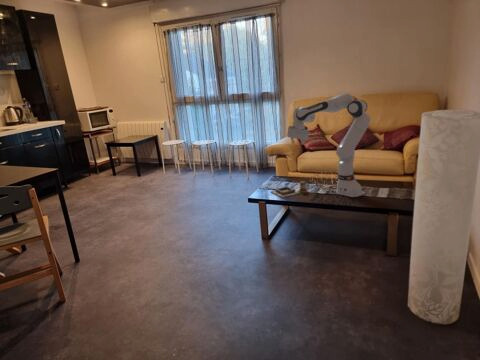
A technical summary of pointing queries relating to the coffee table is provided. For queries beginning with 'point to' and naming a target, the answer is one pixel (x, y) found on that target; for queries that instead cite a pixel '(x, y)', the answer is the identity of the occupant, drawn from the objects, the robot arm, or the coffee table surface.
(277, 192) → the pocket board
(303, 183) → the bobbin
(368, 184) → the coffee table surface
